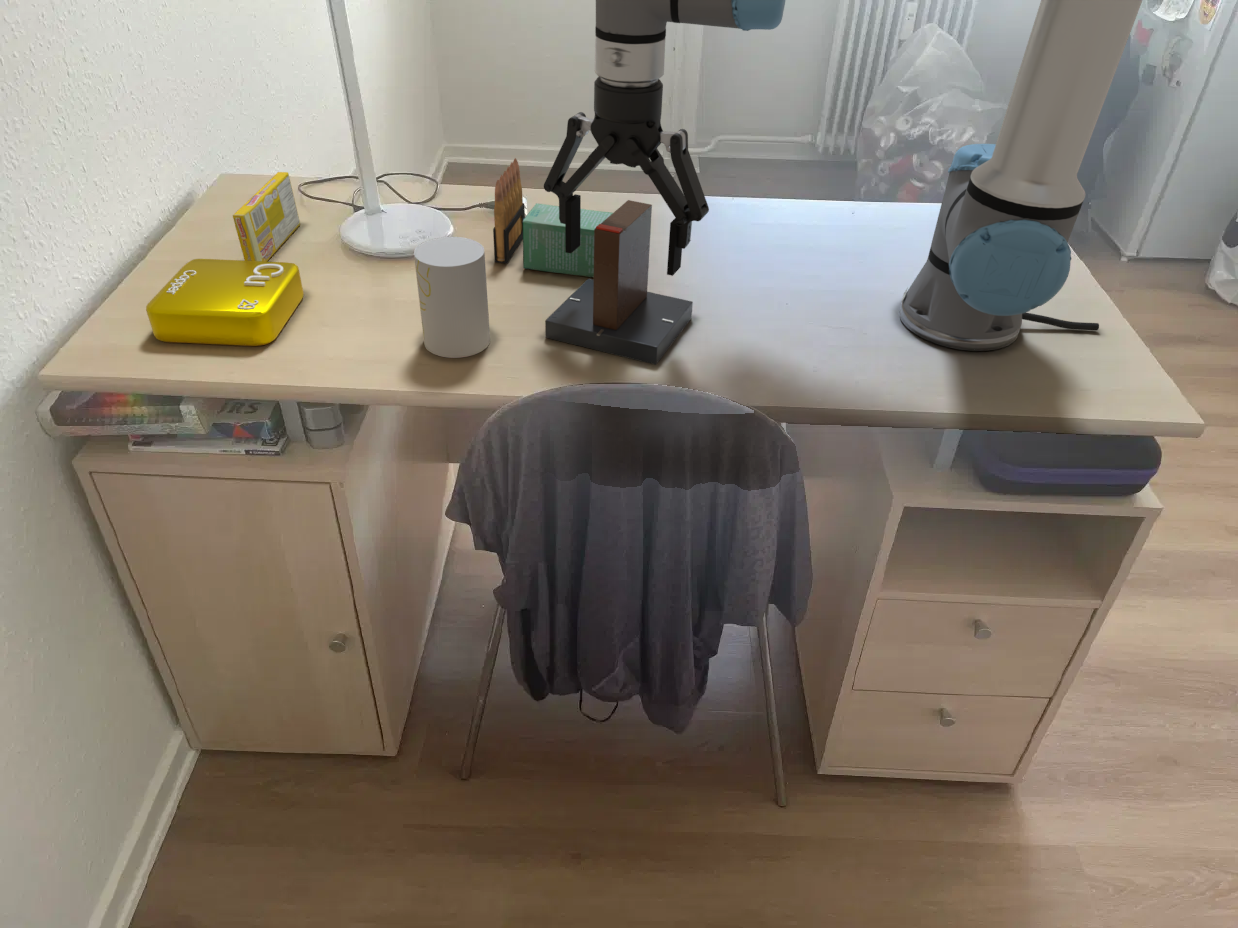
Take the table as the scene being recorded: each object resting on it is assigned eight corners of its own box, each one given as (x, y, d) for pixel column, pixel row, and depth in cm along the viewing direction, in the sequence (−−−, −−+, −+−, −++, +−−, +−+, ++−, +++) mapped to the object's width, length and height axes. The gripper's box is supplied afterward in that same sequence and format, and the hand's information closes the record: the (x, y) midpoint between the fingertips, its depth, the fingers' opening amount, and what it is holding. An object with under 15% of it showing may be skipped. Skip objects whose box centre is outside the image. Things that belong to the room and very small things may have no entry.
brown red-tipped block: (624, 291, 121) (628, 198, 113) (647, 296, 120) (652, 202, 113) (592, 324, 114) (594, 227, 106) (616, 330, 113) (619, 232, 105)
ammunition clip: (506, 264, 132) (502, 182, 125) (494, 263, 133) (489, 181, 125) (525, 234, 141) (523, 156, 133) (514, 233, 141) (510, 155, 134)
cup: (431, 323, 118) (421, 235, 111) (494, 326, 118) (489, 238, 111) (418, 356, 112) (407, 265, 104) (484, 359, 112) (478, 268, 104)
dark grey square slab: (693, 316, 122) (694, 298, 120) (654, 367, 111) (655, 348, 110) (589, 293, 126) (590, 275, 124) (543, 340, 116) (542, 321, 114)
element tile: (198, 286, 124) (189, 253, 121) (308, 291, 124) (302, 258, 121) (148, 342, 112) (137, 307, 109) (271, 348, 112) (262, 313, 109)
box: (615, 281, 129) (617, 230, 125) (522, 271, 131) (520, 221, 126) (625, 260, 135) (626, 210, 130) (535, 250, 137) (534, 201, 132)
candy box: (287, 224, 141) (277, 171, 136) (301, 225, 141) (291, 171, 136) (244, 270, 128) (231, 213, 123) (259, 271, 128) (246, 214, 123)
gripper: (511, 70, 101) (518, 251, 114) (726, 104, 93) (708, 293, 106) (542, 55, 106) (546, 229, 119) (748, 86, 99) (728, 268, 112)
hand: (622, 260), depth 113 cm, fingers open, 13 cm apart
